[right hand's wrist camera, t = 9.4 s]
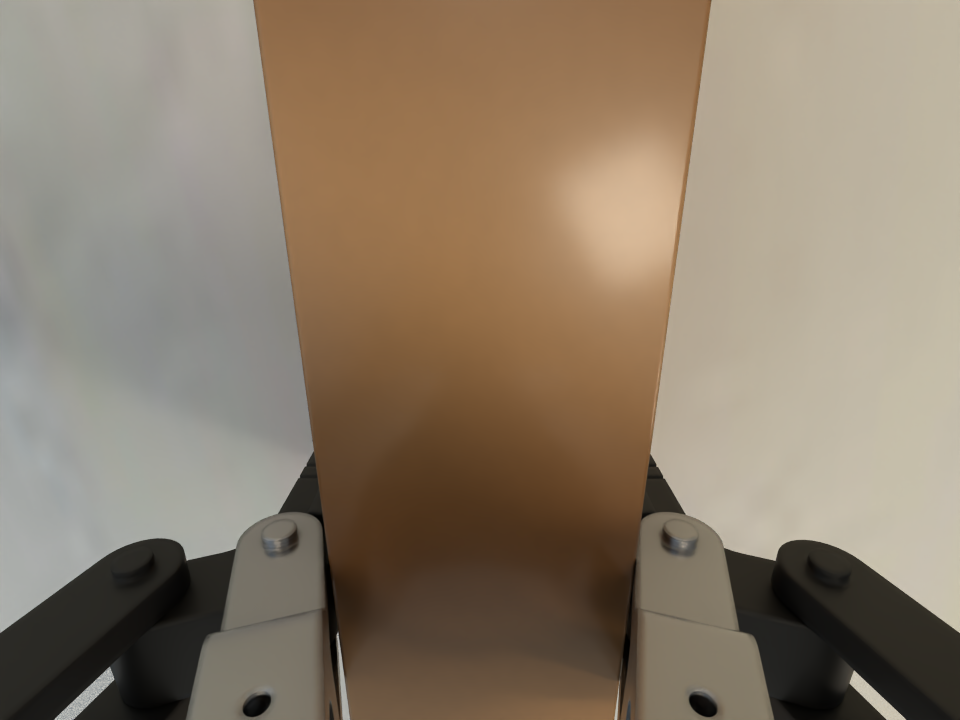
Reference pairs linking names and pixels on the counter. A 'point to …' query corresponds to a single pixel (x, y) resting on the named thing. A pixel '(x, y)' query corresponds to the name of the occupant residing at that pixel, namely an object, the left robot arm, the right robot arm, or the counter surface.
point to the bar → (482, 327)
